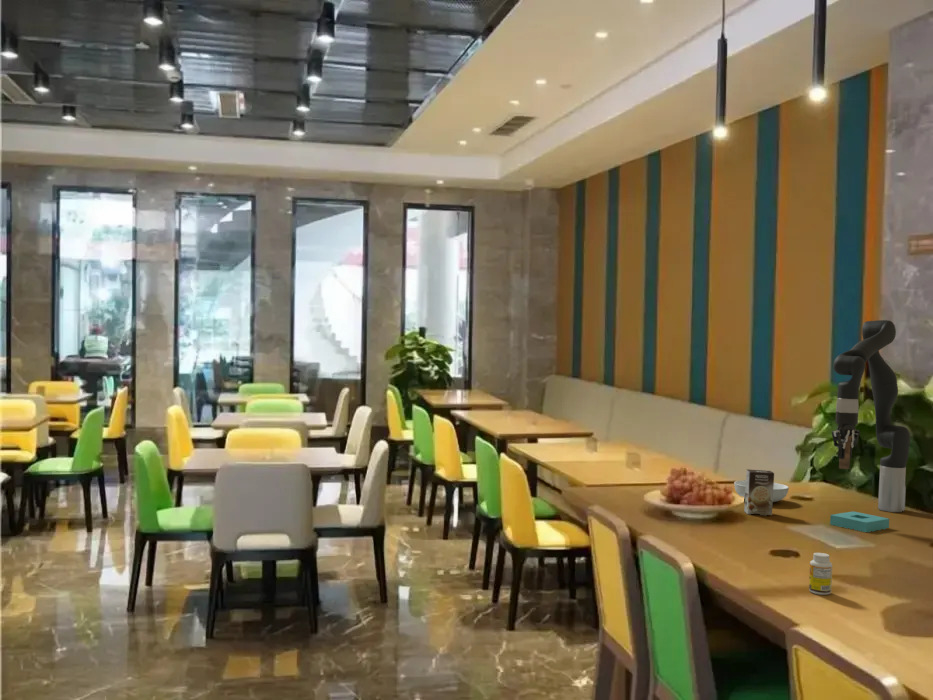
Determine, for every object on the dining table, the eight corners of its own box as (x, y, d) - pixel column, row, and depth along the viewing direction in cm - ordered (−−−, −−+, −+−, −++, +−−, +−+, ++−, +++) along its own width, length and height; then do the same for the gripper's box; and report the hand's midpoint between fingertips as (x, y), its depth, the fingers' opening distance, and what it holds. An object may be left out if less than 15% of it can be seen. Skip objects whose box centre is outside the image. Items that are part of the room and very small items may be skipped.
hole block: (853, 520, 346) (853, 511, 346) (888, 528, 334) (889, 518, 334) (830, 524, 338) (830, 514, 338) (866, 532, 326) (866, 522, 326)
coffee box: (747, 514, 351) (749, 471, 351) (743, 511, 357) (745, 469, 357) (772, 516, 350) (774, 472, 350) (768, 512, 357) (770, 470, 356)
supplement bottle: (813, 588, 254) (814, 550, 254) (834, 592, 251) (835, 554, 250) (805, 592, 250) (807, 554, 250) (826, 596, 246) (828, 558, 246)
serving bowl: (795, 507, 369) (796, 489, 369) (741, 505, 369) (742, 487, 369) (778, 497, 390) (779, 480, 389) (727, 495, 390) (728, 478, 390)
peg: (842, 467, 344) (844, 434, 344) (851, 468, 341) (853, 435, 341) (836, 467, 342) (838, 434, 342) (845, 469, 340) (847, 436, 339)
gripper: (849, 409, 348) (847, 456, 349) (825, 410, 341) (823, 457, 341) (868, 411, 342) (865, 458, 343) (844, 412, 334) (841, 460, 335)
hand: (844, 458), depth 342 cm, fingers closed on peg, 3 cm apart
